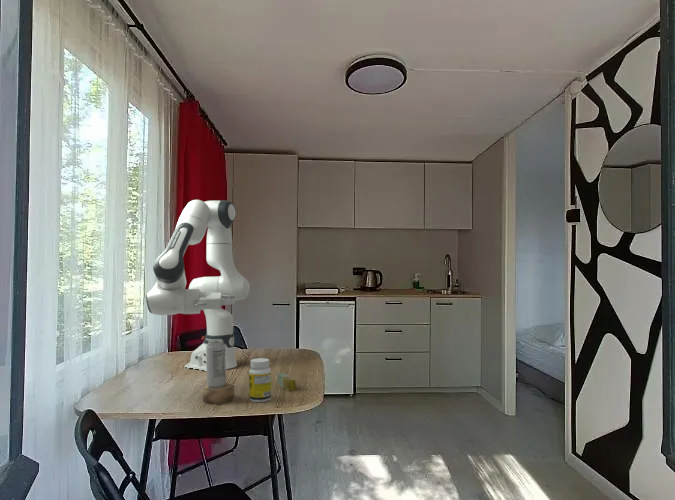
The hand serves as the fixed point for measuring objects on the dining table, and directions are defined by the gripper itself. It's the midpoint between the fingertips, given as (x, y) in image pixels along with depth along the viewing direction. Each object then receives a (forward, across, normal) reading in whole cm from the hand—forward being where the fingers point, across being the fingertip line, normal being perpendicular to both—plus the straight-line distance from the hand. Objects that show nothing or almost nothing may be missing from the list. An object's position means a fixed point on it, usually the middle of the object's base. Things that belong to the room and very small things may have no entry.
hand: (234, 299), depth 171 cm
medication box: (+18, -6, +32) cm, 37 cm away
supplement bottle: (+7, -20, +31) cm, 37 cm away
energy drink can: (-6, -16, +27) cm, 32 cm away
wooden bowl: (-6, -16, +31) cm, 35 cm away
